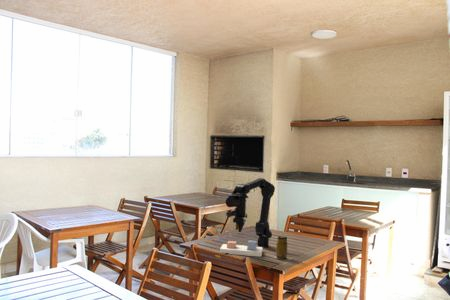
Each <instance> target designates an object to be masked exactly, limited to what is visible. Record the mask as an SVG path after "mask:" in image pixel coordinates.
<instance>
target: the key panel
mask: <svg viewBox="0 0 450 300" xmlns="http://www.w3.org/2000/svg"><path fill="white" fill-rule="evenodd" d="M263 250H264V247H258V246H256V250H253V249H247V245H243V244H242V245H241V244H236V249H234V248H227V243H222V245H221V247H220V248H219V253H220V252H224V253H223V254H225V253H229V254H228V255H236V256H237V255H239V256H249V257H262V255H263Z"/></svg>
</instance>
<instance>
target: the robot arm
mask: <svg viewBox="0 0 450 300" xmlns="http://www.w3.org/2000/svg"><path fill="white" fill-rule="evenodd" d="M256 188H259V189H260V194H261V196H262V198H261V199H262V200H261V201H262V202H261V208H260V215H259V220H258V221H257V222H256V223H255V228H254V229H255V236H257V237H258V238H257V247H263V248H269V247H270V243H269V242H270V239H271V238H272V236H273V233H272V231H271V230H270V223H269V221H268V220H269V213H270V204H271V198H272V197H273V196H274V195H275V194H274V193H275V190H276V189H275V188H276V187H275V185H274V184H272V183H271V182H269V181H268V180H266V179H265V178H261V177H260V178H256V179H254V180H252V181H250V182H246V183H238V184H237V183H236V185H235V187H234V189H233V191H232V192H231V195H230V194H229V195H228V196H227V198H226V200H225V205H226V207H228V208H234V209H232V210H231V209H230V210H227V211H226V212H225V215H226V217H227V219H229V218H232V217H233V219H232V223H235V224H237V230H238V233H242V230H243V228H244V227H245V223H246V219H247V218H248V213H247V212H246V209H247V207H246V206H247V203H246V202H247V199H248V198H249V196H248V194H249V193H250V192H251V191H252V190H254V189H256Z"/></svg>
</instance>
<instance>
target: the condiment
mask: <svg viewBox="0 0 450 300" xmlns="http://www.w3.org/2000/svg"><path fill="white" fill-rule="evenodd" d="M275 252H276V253H275V256H273V257H272V258H275V259H278V260H282V261H290V260H292V259H293V258H292V257H288V237H287V236H284V235H279V236H277V241H276V250H275Z"/></svg>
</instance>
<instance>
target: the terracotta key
mask: <svg viewBox="0 0 450 300" xmlns="http://www.w3.org/2000/svg"><path fill="white" fill-rule="evenodd" d="M226 244H227V248H234V249H236V245H237V241H236V240H235V241H233V240H228V241H227V243H226Z"/></svg>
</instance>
